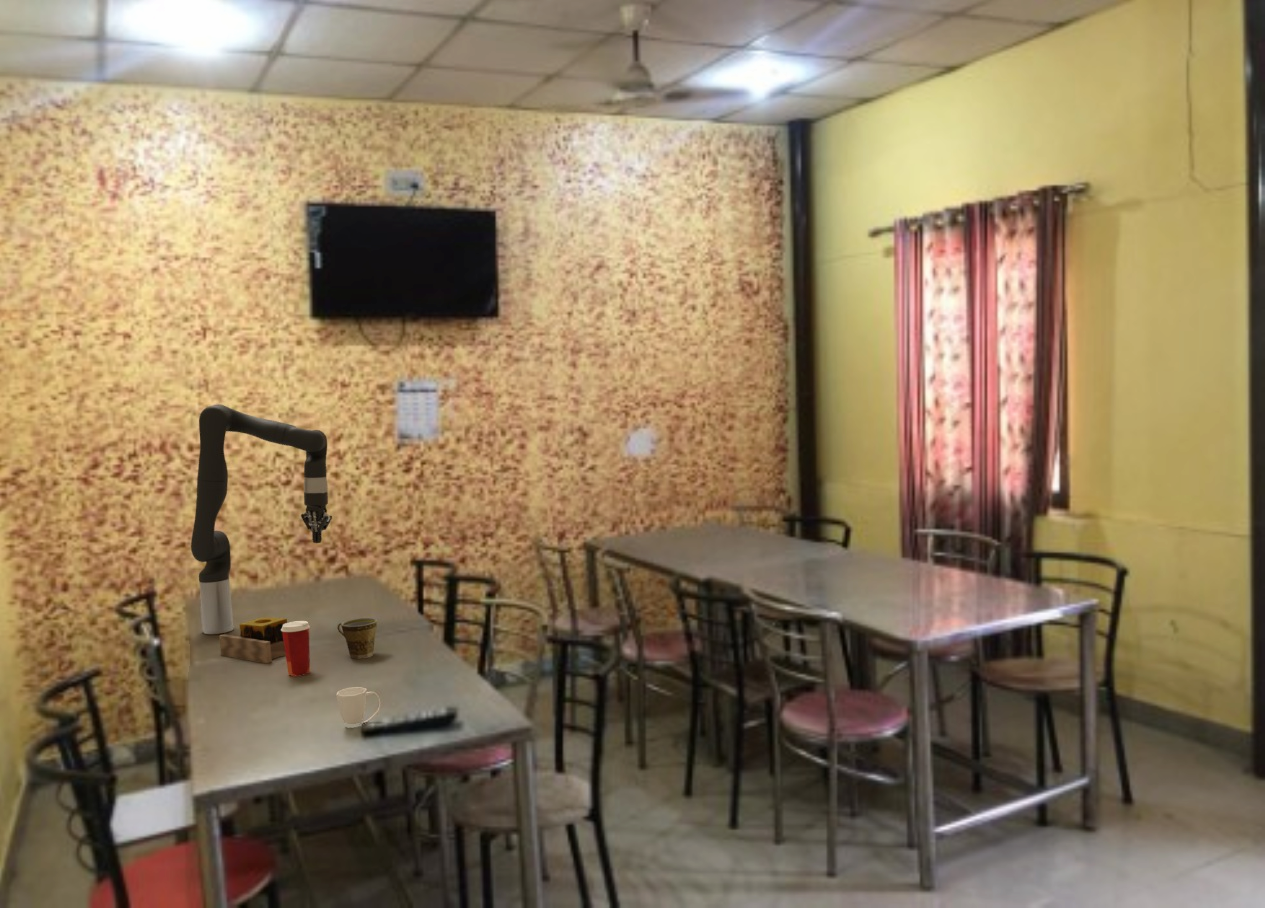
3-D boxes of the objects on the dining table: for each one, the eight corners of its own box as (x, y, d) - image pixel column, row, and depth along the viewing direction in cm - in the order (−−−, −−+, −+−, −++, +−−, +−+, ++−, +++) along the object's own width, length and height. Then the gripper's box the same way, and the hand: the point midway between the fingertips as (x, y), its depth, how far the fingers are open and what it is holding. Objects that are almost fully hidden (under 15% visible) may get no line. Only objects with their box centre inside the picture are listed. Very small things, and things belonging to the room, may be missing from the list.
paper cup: (319, 670, 289) (315, 620, 288) (302, 678, 282) (298, 627, 281) (295, 668, 291) (291, 619, 290) (278, 676, 284) (274, 626, 283)
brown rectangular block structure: (220, 655, 311) (219, 635, 311) (245, 648, 318) (243, 629, 318) (267, 663, 299) (265, 642, 299) (291, 655, 306) (289, 635, 306)
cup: (335, 724, 241) (332, 690, 241) (378, 715, 246) (375, 682, 245) (342, 732, 235) (339, 698, 234) (385, 723, 240) (383, 689, 239)
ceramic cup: (386, 652, 304) (383, 618, 303) (364, 661, 295) (361, 627, 294) (351, 649, 310) (348, 616, 309) (328, 658, 301) (325, 624, 300)
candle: (265, 659, 304) (262, 626, 303) (240, 657, 308) (237, 624, 308) (290, 650, 313) (288, 618, 312) (266, 648, 317) (263, 616, 317)
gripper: (293, 490, 342) (294, 542, 343) (320, 493, 335) (321, 546, 336) (311, 488, 348) (312, 539, 349) (338, 490, 341) (339, 542, 342)
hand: (317, 542), depth 343 cm, fingers closed
